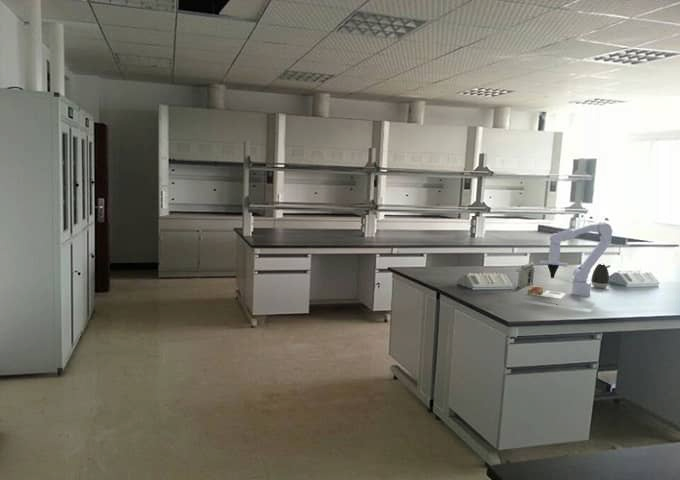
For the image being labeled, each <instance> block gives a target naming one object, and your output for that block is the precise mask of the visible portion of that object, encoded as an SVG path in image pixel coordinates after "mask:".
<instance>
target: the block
mask: <svg viewBox="0 0 680 480" xmlns="http://www.w3.org/2000/svg"><path fill="white" fill-rule="evenodd" d="M531 286H532V294H537V295H542V294H543V293H544V291H543V290H544V286H543V285H531ZM537 295H536V296H537Z"/></svg>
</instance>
